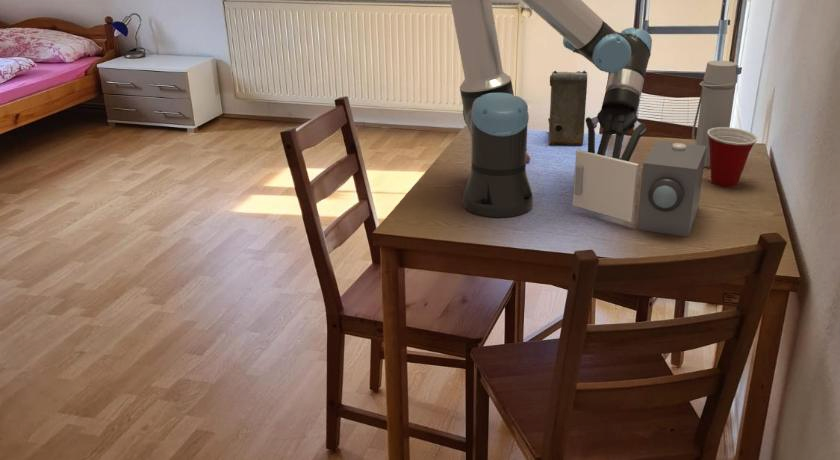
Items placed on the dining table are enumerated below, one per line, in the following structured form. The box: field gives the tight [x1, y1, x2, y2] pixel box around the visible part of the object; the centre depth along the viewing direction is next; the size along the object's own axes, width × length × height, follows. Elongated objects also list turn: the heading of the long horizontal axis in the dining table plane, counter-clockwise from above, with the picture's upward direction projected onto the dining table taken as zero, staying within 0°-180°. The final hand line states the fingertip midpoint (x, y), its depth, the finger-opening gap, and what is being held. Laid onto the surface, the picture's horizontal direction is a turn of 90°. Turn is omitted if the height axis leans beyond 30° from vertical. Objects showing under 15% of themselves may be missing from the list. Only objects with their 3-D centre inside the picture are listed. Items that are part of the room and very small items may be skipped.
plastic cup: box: [707, 126, 758, 188], centre depth 178 cm, size 11×11×12 cm
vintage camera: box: [547, 70, 588, 146], centre depth 212 cm, size 10×16×20 cm, turn 174°
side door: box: [572, 149, 640, 223], centre depth 159 cm, size 14×2×12 cm, turn 45°
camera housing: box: [636, 140, 707, 238], centre depth 158 cm, size 18×10×15 cm, turn 155°
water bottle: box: [691, 60, 738, 169], centre depth 189 cm, size 9×8×25 cm
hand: (599, 192), depth 163 cm, fingers closed
